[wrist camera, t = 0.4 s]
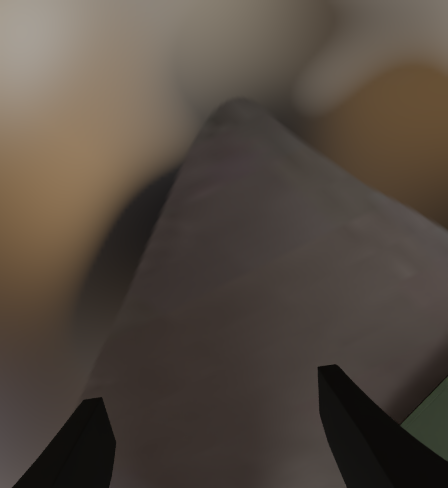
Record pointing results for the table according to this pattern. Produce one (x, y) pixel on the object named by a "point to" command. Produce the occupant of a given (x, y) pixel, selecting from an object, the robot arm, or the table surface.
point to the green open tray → (431, 421)
